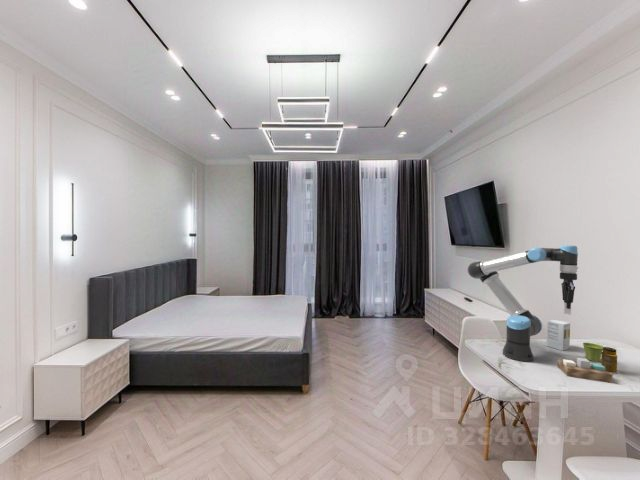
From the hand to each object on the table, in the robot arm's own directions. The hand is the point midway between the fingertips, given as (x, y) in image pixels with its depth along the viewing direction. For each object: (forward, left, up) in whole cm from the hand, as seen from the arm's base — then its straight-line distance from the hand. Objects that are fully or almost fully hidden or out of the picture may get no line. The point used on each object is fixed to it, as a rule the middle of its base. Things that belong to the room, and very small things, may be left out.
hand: (567, 314), depth 166 cm
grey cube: (+3, -13, -25) cm, 28 cm away
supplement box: (+7, +30, -28) cm, 42 cm away
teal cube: (+9, -13, -26) cm, 31 cm away
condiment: (+18, -2, -28) cm, 34 cm away
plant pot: (+18, +13, -28) cm, 36 cm away
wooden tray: (+3, -13, -28) cm, 31 cm away
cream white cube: (-3, -13, -26) cm, 30 cm away
